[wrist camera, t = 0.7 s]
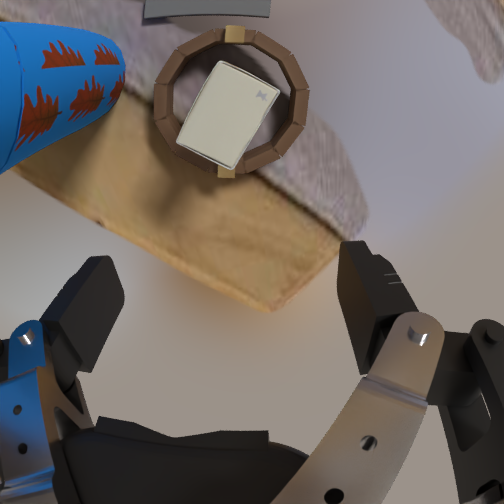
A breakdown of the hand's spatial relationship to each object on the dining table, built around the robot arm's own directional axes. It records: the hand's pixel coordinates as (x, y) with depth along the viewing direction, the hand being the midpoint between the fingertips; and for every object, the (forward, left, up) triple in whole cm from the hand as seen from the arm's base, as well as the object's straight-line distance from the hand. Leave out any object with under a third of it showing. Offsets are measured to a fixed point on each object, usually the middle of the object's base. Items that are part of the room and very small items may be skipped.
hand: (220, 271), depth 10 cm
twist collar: (0, +4, -23) cm, 23 cm away
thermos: (-16, +7, -23) cm, 29 cm away
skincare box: (0, +4, -23) cm, 23 cm away
